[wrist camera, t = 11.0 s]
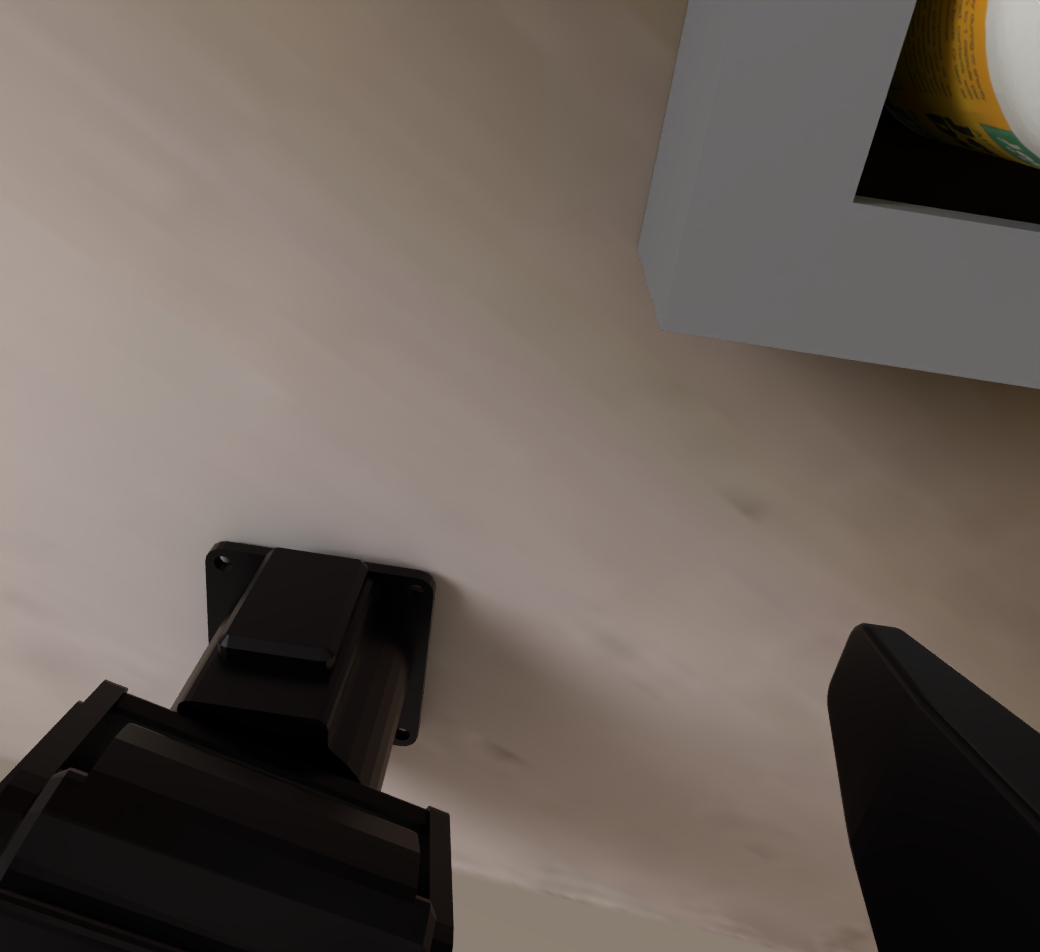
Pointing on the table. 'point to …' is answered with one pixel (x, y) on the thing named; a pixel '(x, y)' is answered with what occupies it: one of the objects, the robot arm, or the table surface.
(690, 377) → the table surface
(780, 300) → the drop box
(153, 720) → the robot arm
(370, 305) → the table surface
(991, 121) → the supplement bottle
